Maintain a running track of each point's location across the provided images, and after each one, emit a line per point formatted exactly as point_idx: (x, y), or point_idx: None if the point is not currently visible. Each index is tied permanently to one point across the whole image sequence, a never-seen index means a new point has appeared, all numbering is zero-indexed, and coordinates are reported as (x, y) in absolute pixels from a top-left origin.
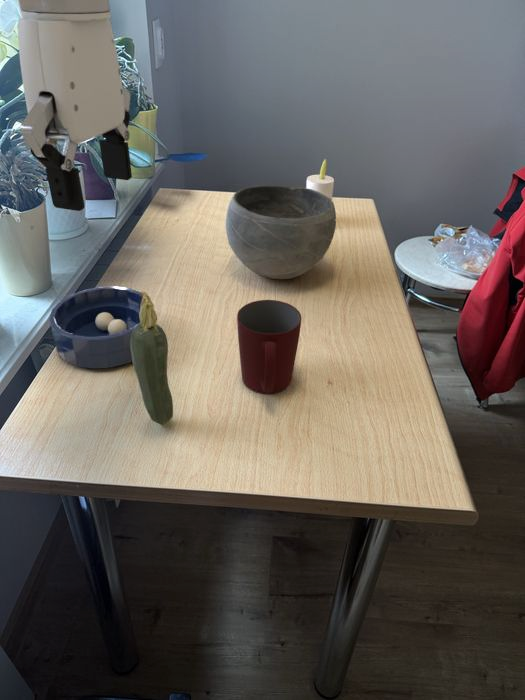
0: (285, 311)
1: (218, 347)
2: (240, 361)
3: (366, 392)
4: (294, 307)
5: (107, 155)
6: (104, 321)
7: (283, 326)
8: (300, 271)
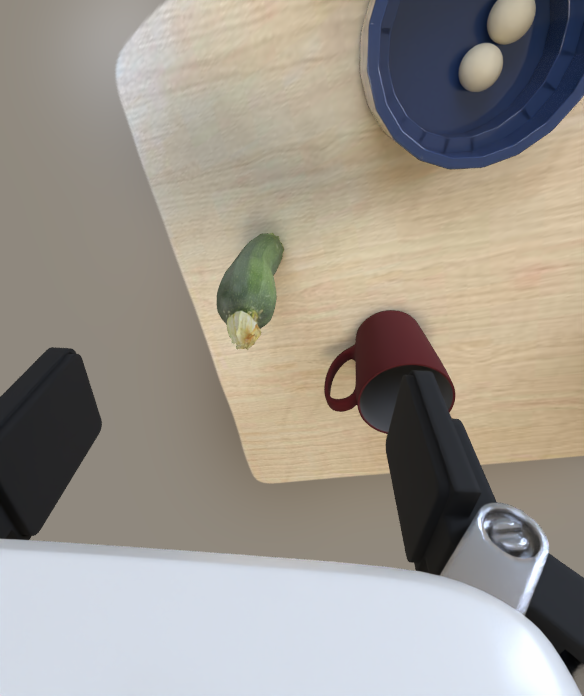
0: None
1: (455, 261)
2: (382, 325)
3: None
4: None
5: (418, 459)
6: (496, 28)
7: None
8: None
